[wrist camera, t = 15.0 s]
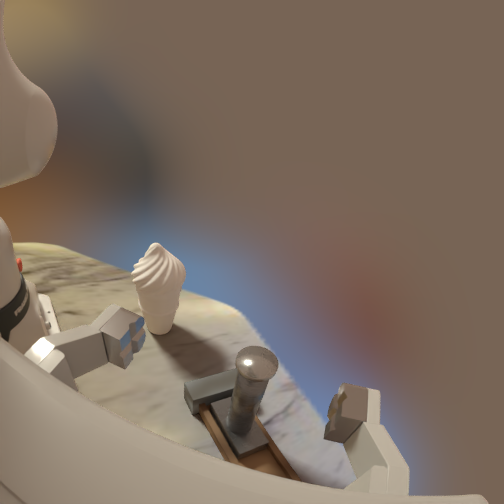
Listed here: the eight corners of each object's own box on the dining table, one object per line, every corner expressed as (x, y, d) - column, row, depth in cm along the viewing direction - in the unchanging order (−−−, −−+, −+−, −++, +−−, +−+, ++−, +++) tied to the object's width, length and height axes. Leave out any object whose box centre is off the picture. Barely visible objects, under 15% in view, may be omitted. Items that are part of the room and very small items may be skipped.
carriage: (209, 410, 38) (220, 337, 31) (236, 401, 40) (255, 328, 33) (237, 459, 32) (260, 400, 25) (265, 448, 34) (298, 385, 27)
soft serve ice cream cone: (192, 334, 52) (198, 253, 44) (148, 350, 47) (143, 267, 39) (169, 304, 57) (171, 227, 49) (127, 318, 52) (121, 237, 44)
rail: (184, 398, 41) (184, 382, 39) (236, 382, 45) (240, 366, 43) (305, 590, 18) (317, 591, 16) (361, 554, 22) (377, 550, 20)
